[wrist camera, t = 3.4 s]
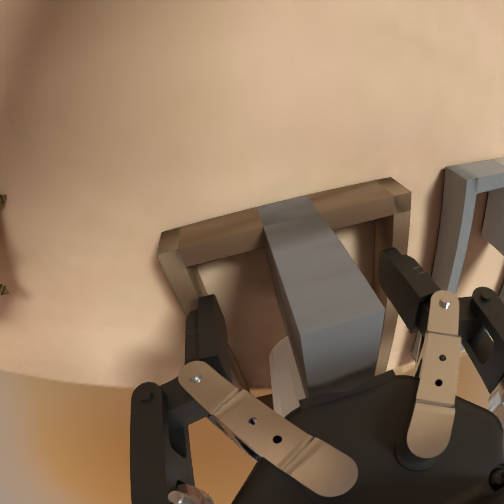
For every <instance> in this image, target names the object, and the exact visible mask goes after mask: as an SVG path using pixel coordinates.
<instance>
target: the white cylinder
mask: <svg viewBox="0 0 504 504" xmlns="http://www.w3.org/2000/svg"><path fill="white" fill-rule="evenodd" d="M268 357H269V367H270V376H271V386H272V396H273V406H274V411H275V412H276V413H278V414H279V415H281V416H282V417H283V418H284V417H285V416H286V415H287V414H289V413H290V412H291V411H293V410H294V409H296V408H298V407H300V404H299V400H301V399H305V398H306V397H305V393H304V390H303V386H302V383H301V379H300V376H299V372H298V369H297V365H296V362H295V359H294V355H293V352H292V348H291V345H290V341H289V338H288V336H286V337H284V338H283V339H281V340H280V341H279V342H278V343H277V344H276V345H275V346H274V347H273V348H272V350H271V352H270V354H269V356H268Z"/></svg>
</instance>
